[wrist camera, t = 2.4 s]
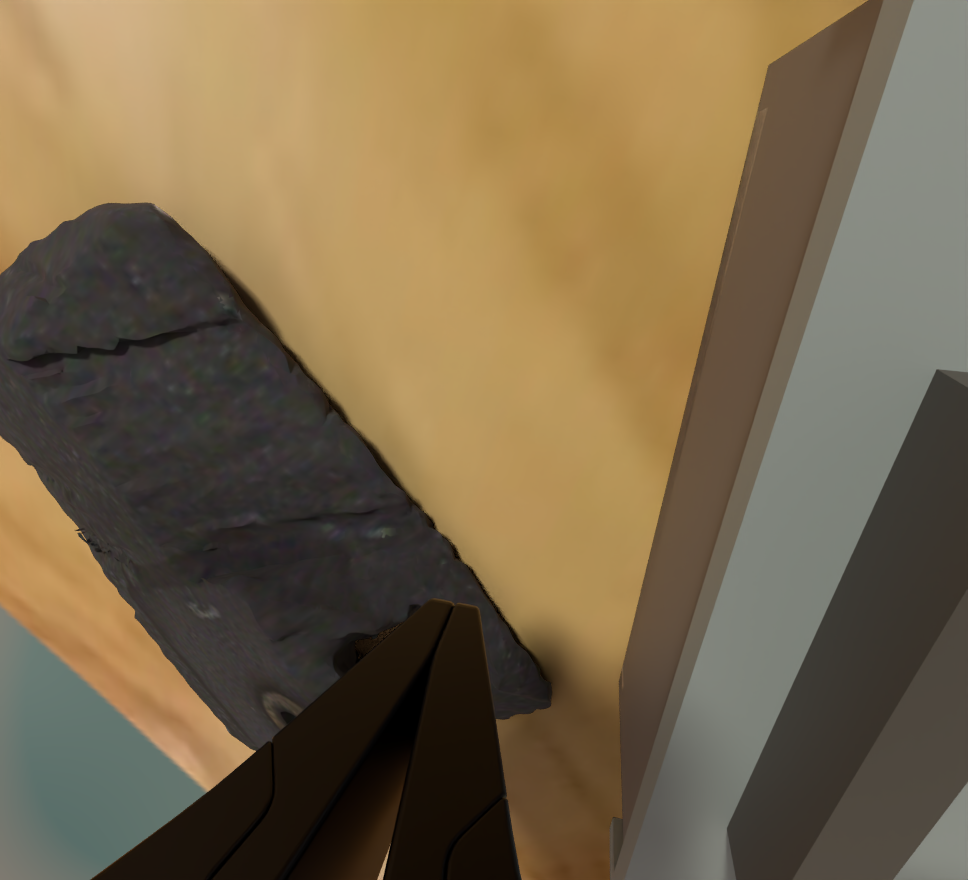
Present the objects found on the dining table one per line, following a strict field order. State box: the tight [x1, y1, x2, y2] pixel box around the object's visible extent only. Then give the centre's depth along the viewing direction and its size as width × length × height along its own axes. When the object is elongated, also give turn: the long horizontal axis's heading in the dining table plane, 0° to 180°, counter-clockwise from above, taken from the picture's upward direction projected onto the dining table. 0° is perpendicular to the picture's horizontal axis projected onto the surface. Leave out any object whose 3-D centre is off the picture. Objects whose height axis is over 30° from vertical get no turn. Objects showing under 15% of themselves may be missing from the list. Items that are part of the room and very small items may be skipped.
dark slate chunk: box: [0, 203, 552, 751], centre depth 18 cm, size 15×22×5 cm
